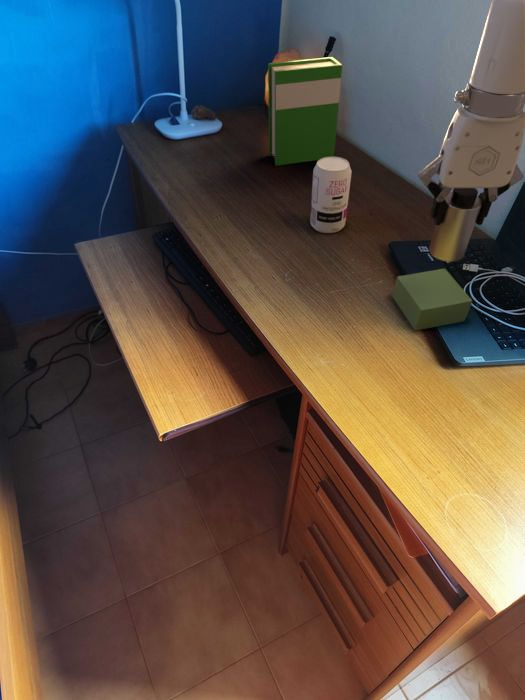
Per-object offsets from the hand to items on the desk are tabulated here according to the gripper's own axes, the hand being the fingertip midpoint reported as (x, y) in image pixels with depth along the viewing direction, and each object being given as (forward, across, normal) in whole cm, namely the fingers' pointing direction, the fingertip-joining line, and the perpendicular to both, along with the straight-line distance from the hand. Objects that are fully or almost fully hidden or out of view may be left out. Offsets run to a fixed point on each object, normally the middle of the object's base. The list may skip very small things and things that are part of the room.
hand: (456, 219), depth 75 cm
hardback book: (+20, -22, +68) cm, 74 cm away
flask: (+6, 0, 0) cm, 6 cm away
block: (+19, 0, 0) cm, 19 cm away
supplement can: (+20, -17, +30) cm, 40 cm away
